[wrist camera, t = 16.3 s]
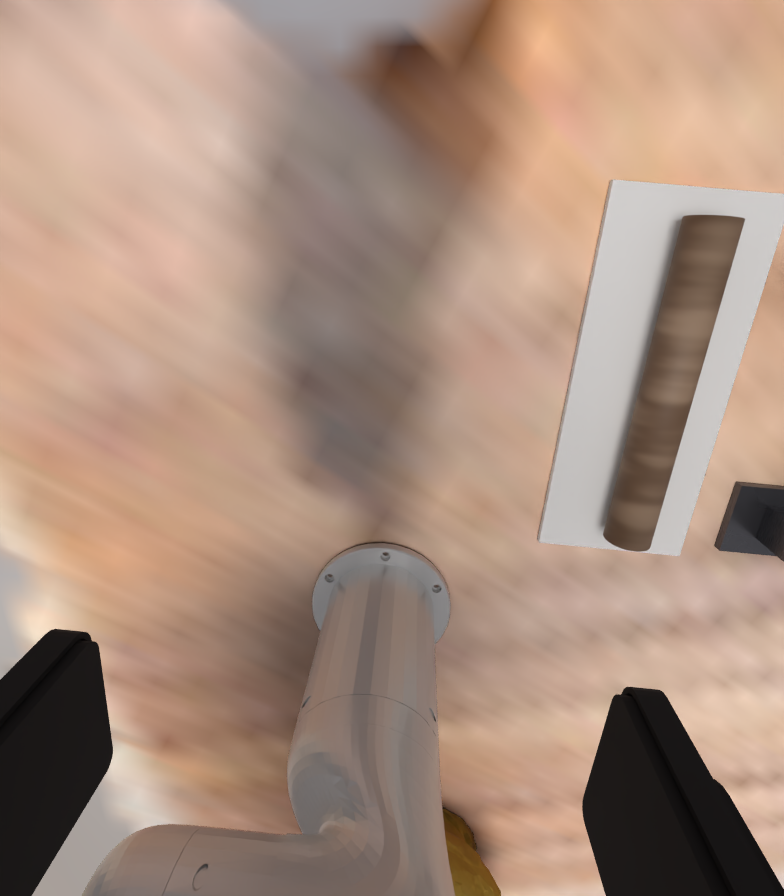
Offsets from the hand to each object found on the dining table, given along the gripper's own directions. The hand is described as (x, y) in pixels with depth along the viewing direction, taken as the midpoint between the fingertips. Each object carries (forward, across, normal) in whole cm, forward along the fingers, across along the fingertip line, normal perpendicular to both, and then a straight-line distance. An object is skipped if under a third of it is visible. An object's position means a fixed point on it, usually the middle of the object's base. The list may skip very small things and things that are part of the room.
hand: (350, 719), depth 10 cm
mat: (+33, -19, 0) cm, 38 cm away
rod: (+33, -19, 0) cm, 38 cm away
